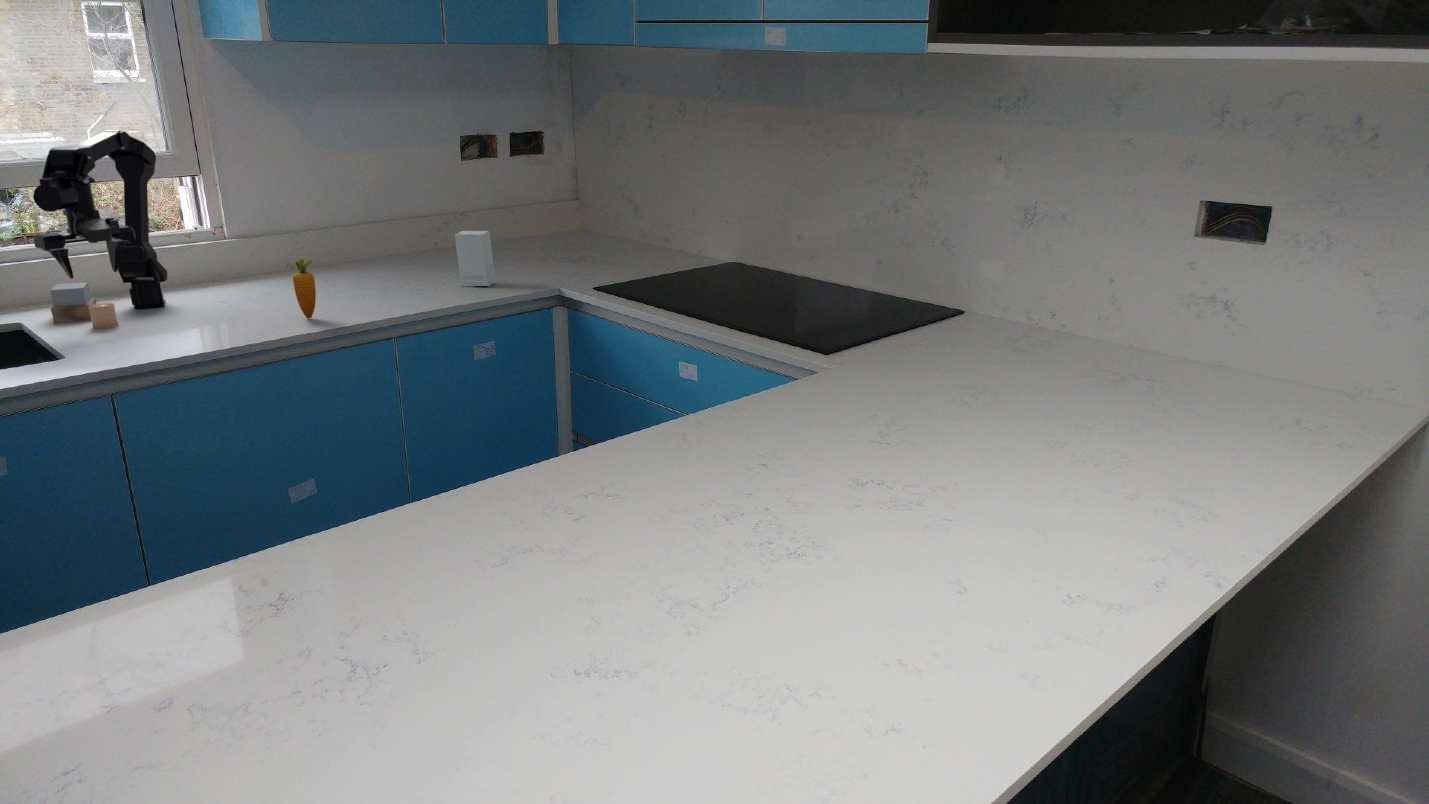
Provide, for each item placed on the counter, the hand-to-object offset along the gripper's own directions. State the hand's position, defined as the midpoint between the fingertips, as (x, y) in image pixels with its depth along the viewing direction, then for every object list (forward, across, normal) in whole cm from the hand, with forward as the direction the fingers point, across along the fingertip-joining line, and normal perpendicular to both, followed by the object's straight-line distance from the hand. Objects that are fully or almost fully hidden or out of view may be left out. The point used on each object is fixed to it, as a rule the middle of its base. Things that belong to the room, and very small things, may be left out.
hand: (93, 275), depth 214 cm
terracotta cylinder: (+12, 0, 0) cm, 12 cm away
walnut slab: (+12, 0, +14) cm, 18 cm away
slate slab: (+8, 0, +14) cm, 16 cm away
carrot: (+12, +32, -32) cm, 46 cm away
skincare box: (+12, +81, -35) cm, 89 cm away
